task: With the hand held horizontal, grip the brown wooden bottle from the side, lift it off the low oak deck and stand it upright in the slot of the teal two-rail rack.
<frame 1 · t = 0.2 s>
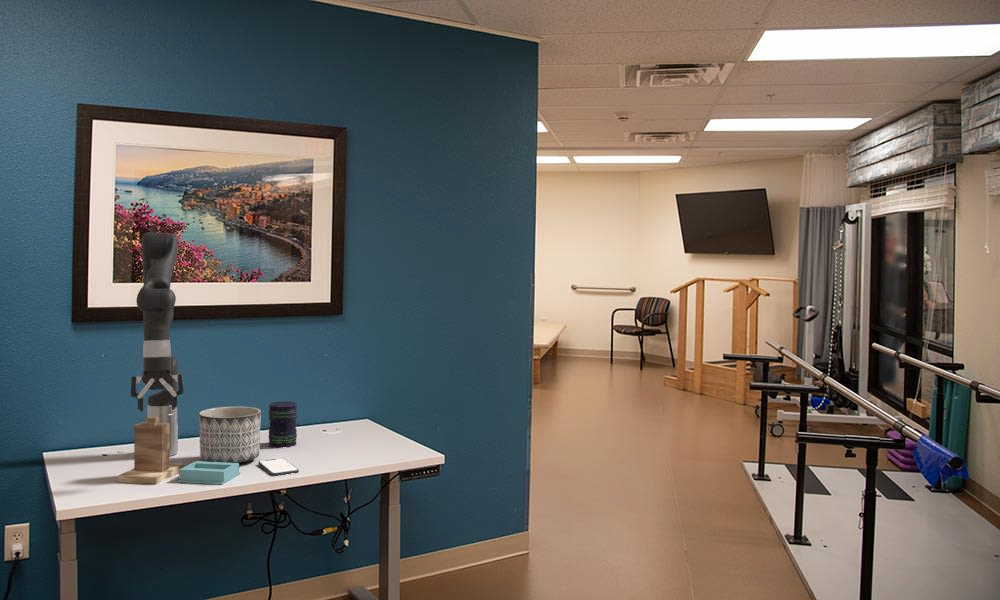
hand: (157, 410, 228), 22 cm above the table, tool pointing down, fingers open, 8 cm apart
oak deck: (152, 475, 235), on the table
phone case: (278, 470, 247), on the table
planter: (230, 461, 255), on the table
brown wooden bottle: (152, 469, 235), point 2 cm above the table, touching oak deck
storage jar: (282, 445, 279), on the table
teal rack: (209, 477, 234), on the table
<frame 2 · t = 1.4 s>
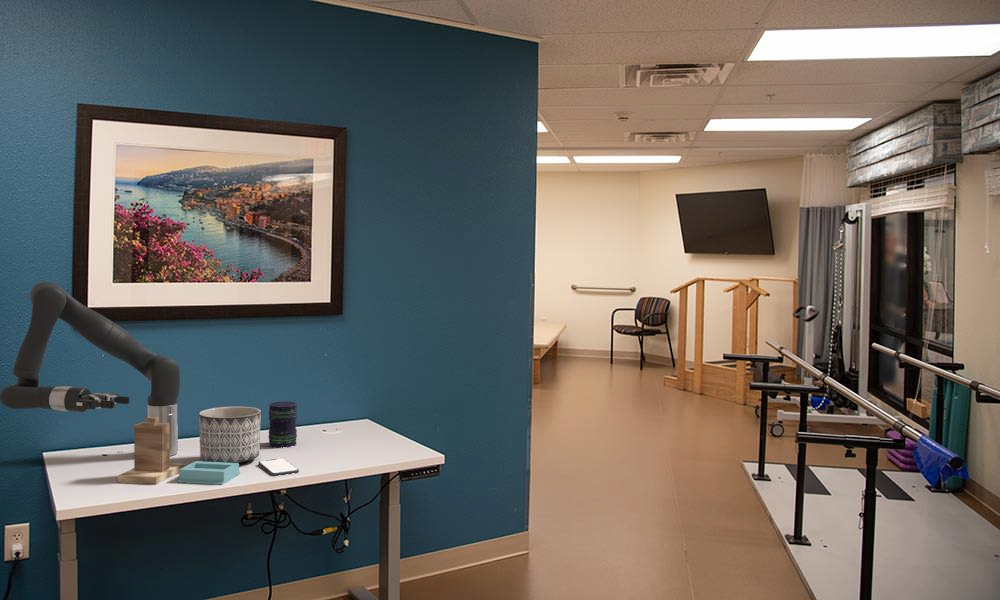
hand: (121, 402, 236), 22 cm above the table, tool horizontal, fingers open, 8 cm apart
nothing on the table moved.
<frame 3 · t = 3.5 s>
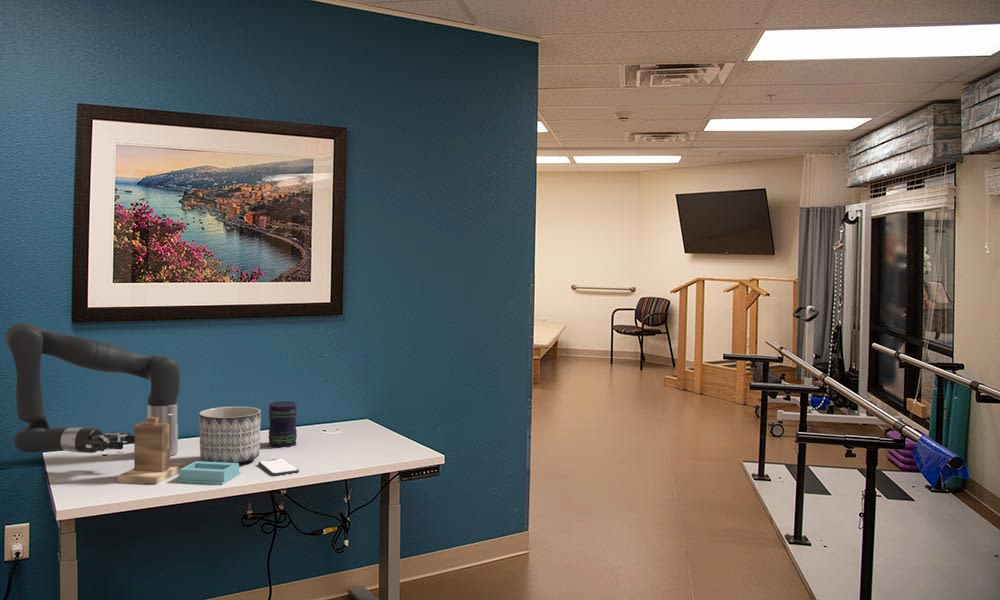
hand: (130, 442, 236), 10 cm above the table, tool horizontal, fingers open, 8 cm apart
nothing on the table moved.
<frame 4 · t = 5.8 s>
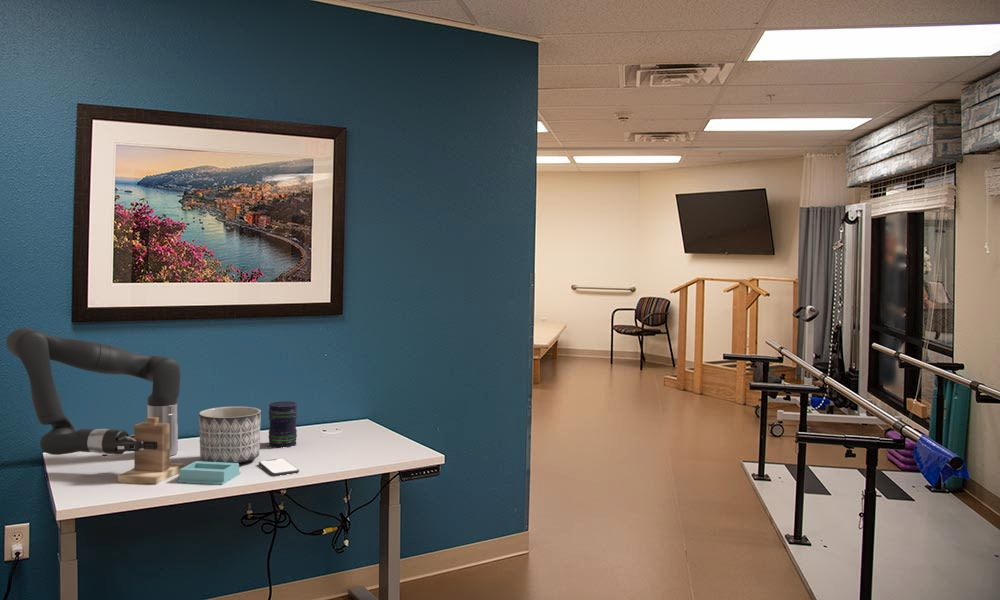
hand: (160, 444, 235), 10 cm above the table, tool horizontal, fingers closed on brown wooden bottle, 4 cm apart
brown wooden bottle: (152, 469, 235), point 2 cm above the table, touching gripper, oak deck
everything else where it was.
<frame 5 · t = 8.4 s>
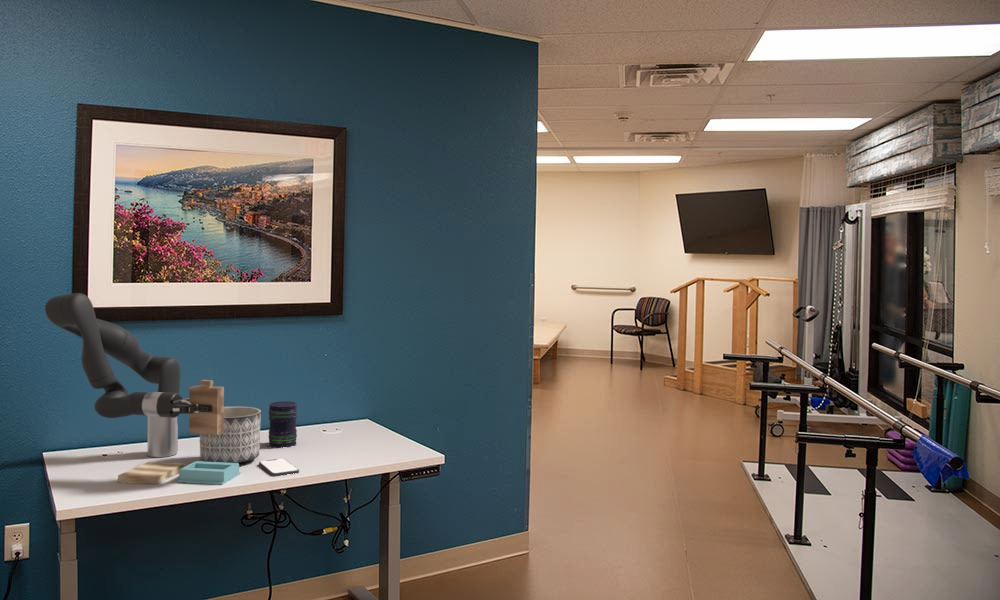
hand: (215, 407, 233), 22 cm above the table, tool horizontal, fingers closed on brown wooden bottle, 4 cm apart
brown wooden bottle: (206, 432, 233), point 14 cm above the table, touching gripper
everything else where it was.
when the fingers open (10 cm above the table, at t = 11.1 s): brown wooden bottle drops 1 cm, resting on teal rack.
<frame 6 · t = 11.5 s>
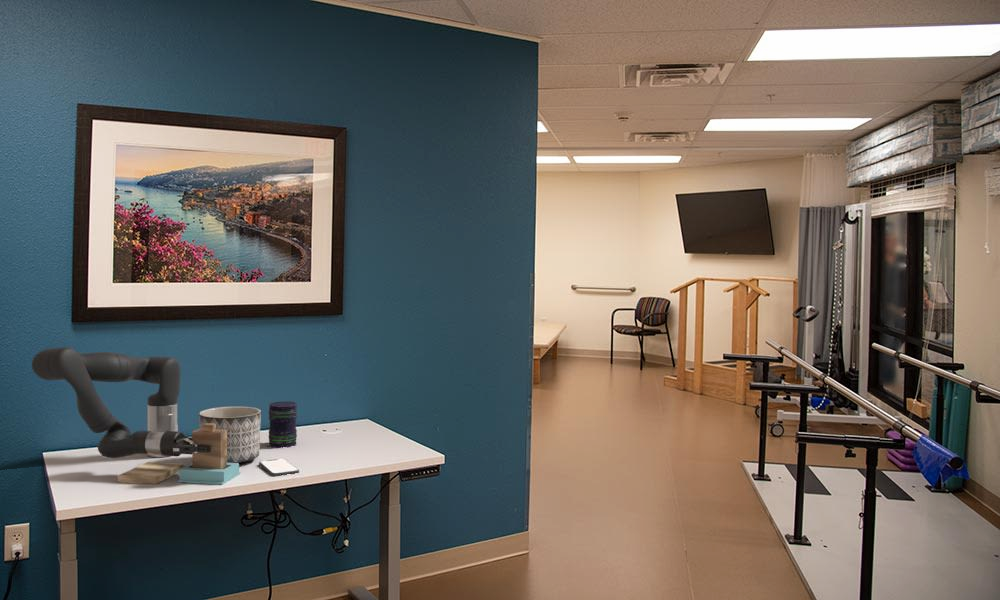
hand: (216, 445, 234), 10 cm above the table, tool horizontal, fingers open, 7 cm apart
brown wooden bottle: (209, 476, 234), point 1 cm above the table, touching teal rack
everything else where it was.
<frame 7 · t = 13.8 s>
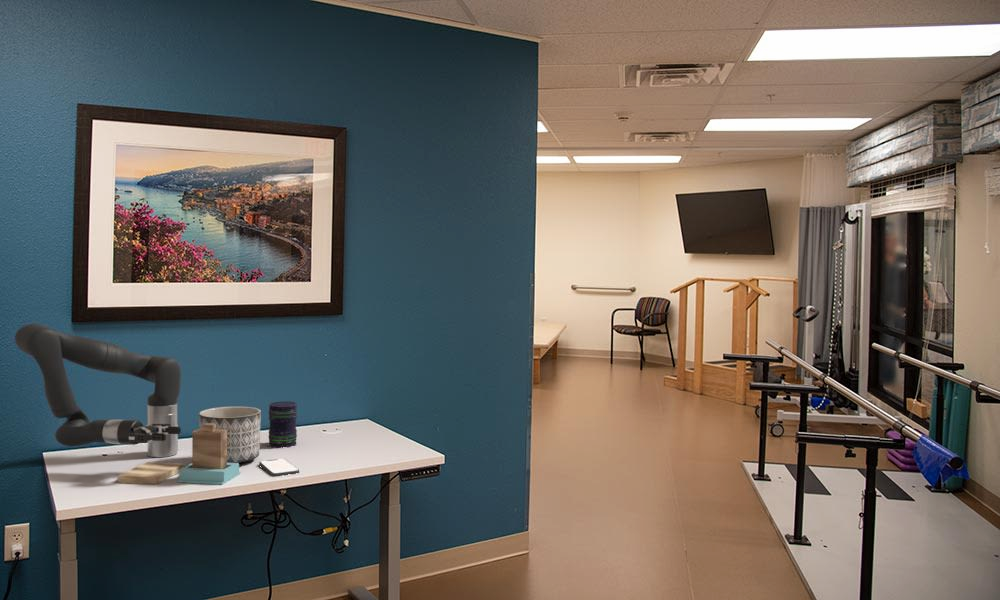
hand: (172, 433, 236), 13 cm above the table, tool horizontal, fingers open, 8 cm apart
nothing on the table moved.
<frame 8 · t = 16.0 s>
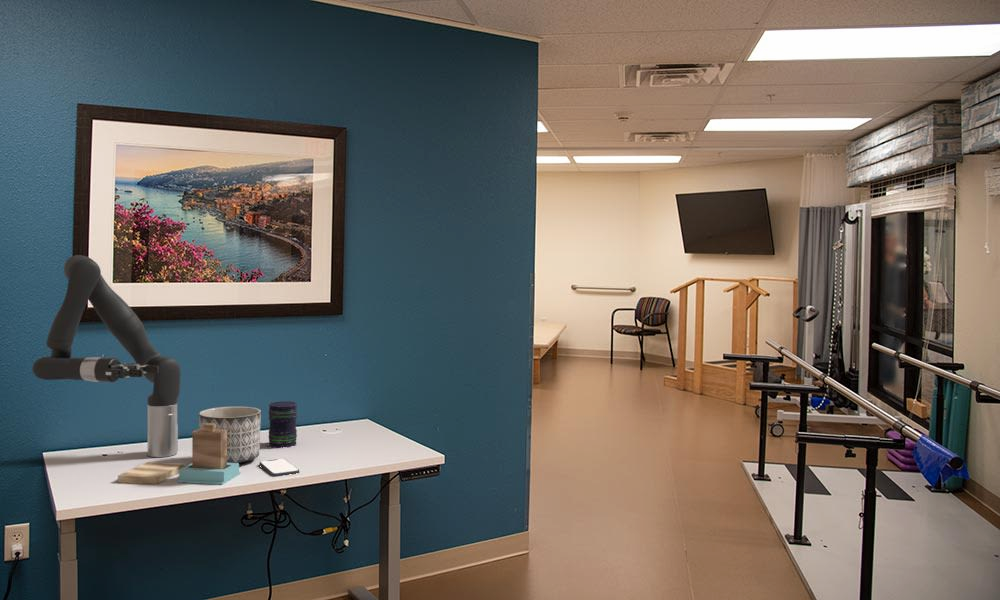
hand: (150, 371, 235), 32 cm above the table, tool horizontal, fingers open, 8 cm apart
nothing on the table moved.
at the end: brown wooden bottle inside the target area on the teal rack (0.1 cm from its centre), point 0.6 cm above the teal rack's base; brown wooden bottle tilted 0°; the gripper is holding nothing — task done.
